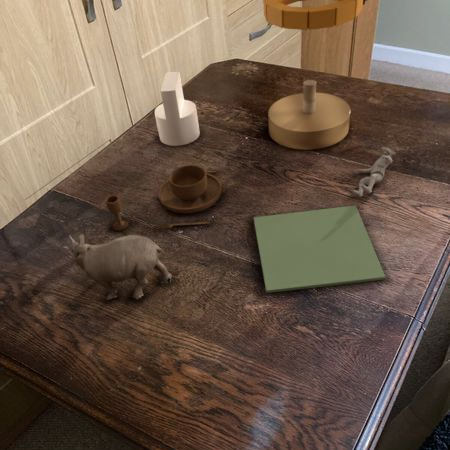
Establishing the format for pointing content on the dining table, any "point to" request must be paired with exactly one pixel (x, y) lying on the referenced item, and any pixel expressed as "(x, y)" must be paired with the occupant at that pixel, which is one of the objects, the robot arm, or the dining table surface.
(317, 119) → the ring stand
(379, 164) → the soldier figure
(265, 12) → the ring
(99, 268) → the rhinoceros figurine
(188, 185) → the place setting
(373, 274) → the mat
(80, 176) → the dining table surface
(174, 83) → the base with upright slab
